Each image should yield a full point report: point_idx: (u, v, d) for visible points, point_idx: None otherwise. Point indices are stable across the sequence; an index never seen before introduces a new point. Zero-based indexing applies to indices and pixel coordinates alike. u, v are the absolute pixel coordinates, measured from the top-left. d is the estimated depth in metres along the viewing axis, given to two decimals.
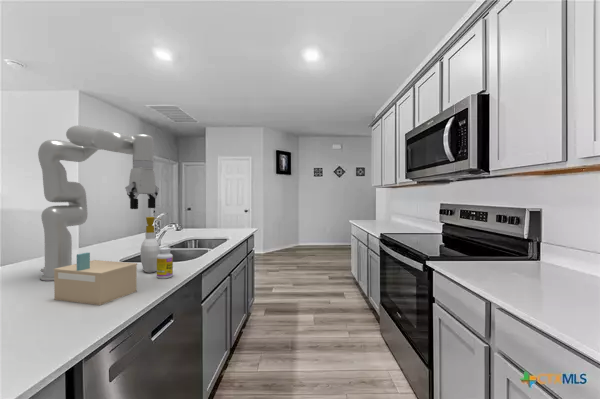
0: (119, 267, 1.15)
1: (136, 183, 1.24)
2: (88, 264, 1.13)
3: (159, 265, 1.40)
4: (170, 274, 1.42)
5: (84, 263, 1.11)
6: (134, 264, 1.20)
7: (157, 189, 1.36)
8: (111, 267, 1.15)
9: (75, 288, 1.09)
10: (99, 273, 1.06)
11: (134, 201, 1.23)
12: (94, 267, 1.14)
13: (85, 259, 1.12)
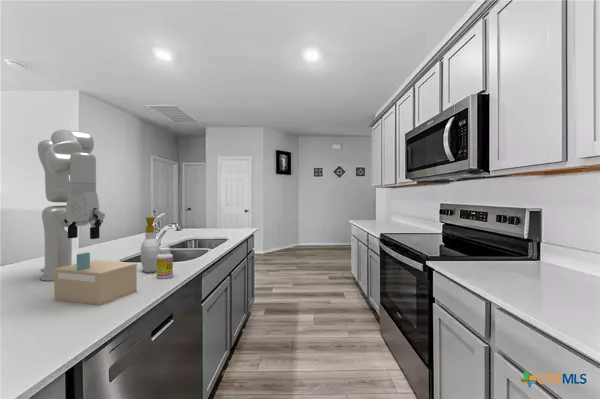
0: (119, 267, 1.15)
1: (97, 209, 1.11)
2: (88, 264, 1.13)
3: (159, 265, 1.40)
4: (170, 274, 1.42)
5: (84, 263, 1.11)
6: (134, 264, 1.20)
7: None
8: (111, 267, 1.15)
9: (75, 288, 1.09)
10: (99, 273, 1.06)
11: None
12: (94, 267, 1.14)
13: (85, 259, 1.12)
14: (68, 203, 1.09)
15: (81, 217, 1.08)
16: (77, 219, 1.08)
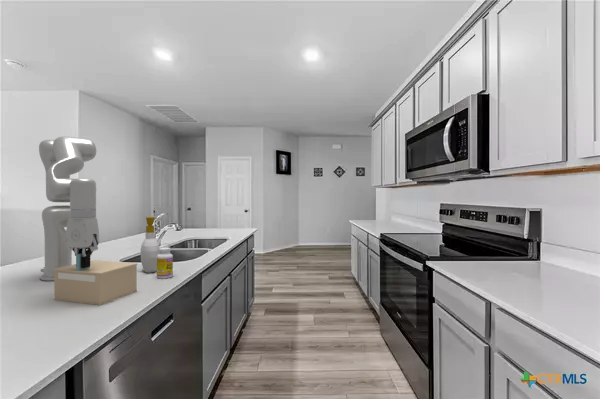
0: (119, 267, 1.15)
1: (97, 235, 1.11)
2: None
3: (159, 265, 1.40)
4: (170, 274, 1.42)
5: None
6: (134, 264, 1.20)
7: None
8: (111, 267, 1.15)
9: (75, 288, 1.09)
10: (99, 273, 1.06)
11: None
12: (94, 267, 1.14)
13: None
14: (68, 229, 1.10)
15: (81, 243, 1.08)
16: (77, 245, 1.08)
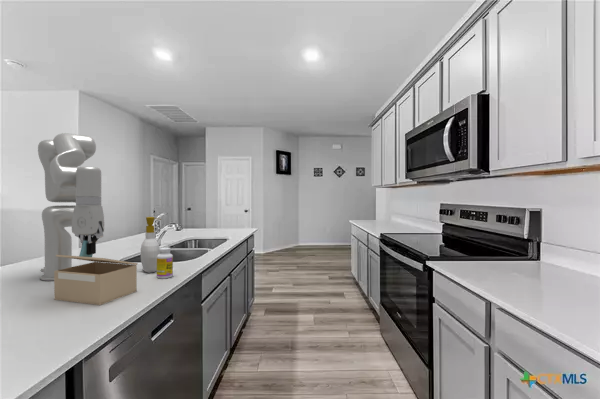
0: None
1: (102, 222, 1.13)
2: None
3: (159, 265, 1.40)
4: (170, 274, 1.42)
5: None
6: (134, 263, 1.21)
7: None
8: None
9: (75, 288, 1.09)
10: (101, 258, 1.07)
11: None
12: None
13: None
14: (74, 216, 1.12)
15: (87, 230, 1.10)
16: (83, 232, 1.10)
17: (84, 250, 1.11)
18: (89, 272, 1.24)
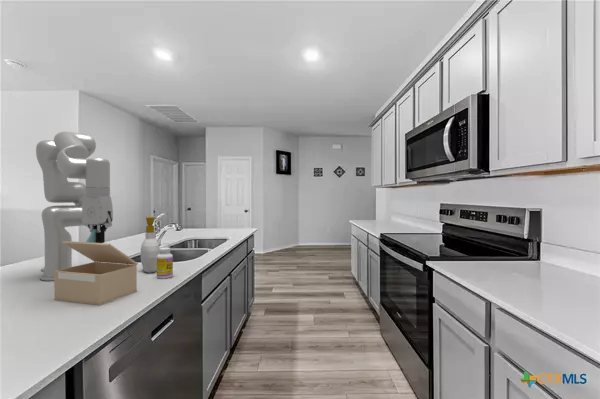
0: (123, 254, 1.16)
1: (111, 212, 1.17)
2: None
3: (159, 265, 1.40)
4: (170, 274, 1.42)
5: (95, 240, 1.15)
6: (135, 262, 1.21)
7: None
8: None
9: (75, 288, 1.09)
10: None
11: None
12: None
13: None
14: (84, 206, 1.15)
15: (96, 219, 1.14)
16: (92, 221, 1.14)
17: (92, 238, 1.14)
18: (89, 272, 1.24)
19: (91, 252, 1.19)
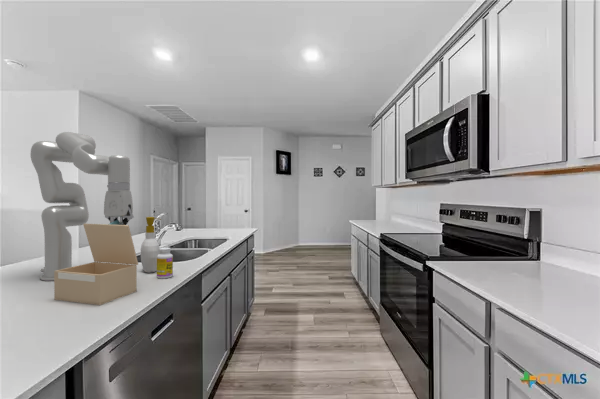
0: None
1: (131, 206, 1.26)
2: None
3: (159, 265, 1.40)
4: (170, 274, 1.42)
5: None
6: (137, 261, 1.22)
7: None
8: None
9: (75, 288, 1.09)
10: (127, 225, 1.18)
11: None
12: None
13: None
14: (106, 200, 1.24)
15: (118, 212, 1.23)
16: (114, 214, 1.23)
17: (112, 224, 1.22)
18: (89, 272, 1.24)
19: (101, 242, 1.23)
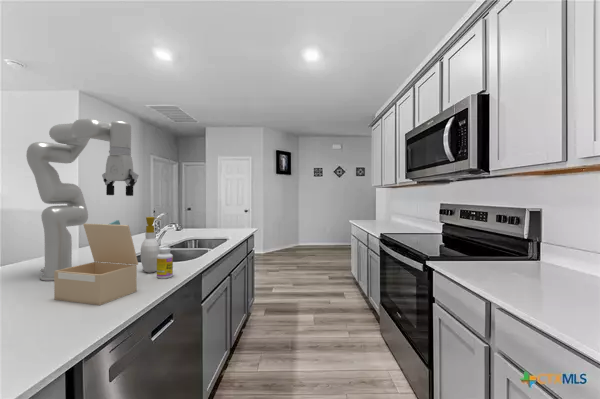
0: None
1: None
2: None
3: (159, 265, 1.40)
4: (170, 274, 1.42)
5: None
6: (137, 261, 1.22)
7: None
8: None
9: (75, 288, 1.09)
10: (127, 225, 1.18)
11: None
12: None
13: None
14: (107, 164, 1.27)
15: (119, 176, 1.26)
16: (115, 178, 1.26)
17: (112, 224, 1.22)
18: (89, 272, 1.24)
19: (101, 242, 1.23)
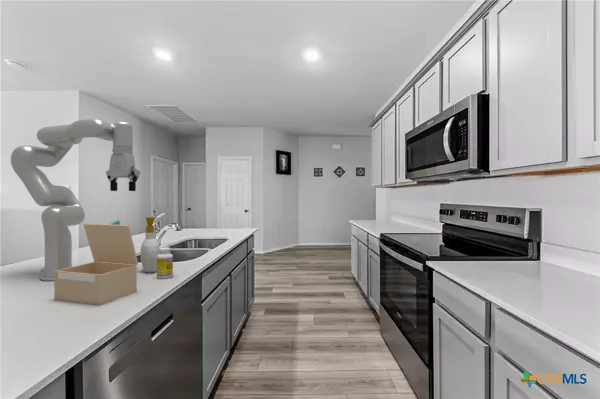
0: None
1: None
2: None
3: (159, 265, 1.40)
4: (170, 274, 1.42)
5: None
6: (137, 261, 1.22)
7: None
8: None
9: (75, 288, 1.09)
10: (127, 225, 1.18)
11: None
12: None
13: None
14: (111, 162, 1.37)
15: (122, 173, 1.36)
16: (119, 175, 1.36)
17: (112, 224, 1.22)
18: (89, 272, 1.24)
19: (101, 242, 1.23)
